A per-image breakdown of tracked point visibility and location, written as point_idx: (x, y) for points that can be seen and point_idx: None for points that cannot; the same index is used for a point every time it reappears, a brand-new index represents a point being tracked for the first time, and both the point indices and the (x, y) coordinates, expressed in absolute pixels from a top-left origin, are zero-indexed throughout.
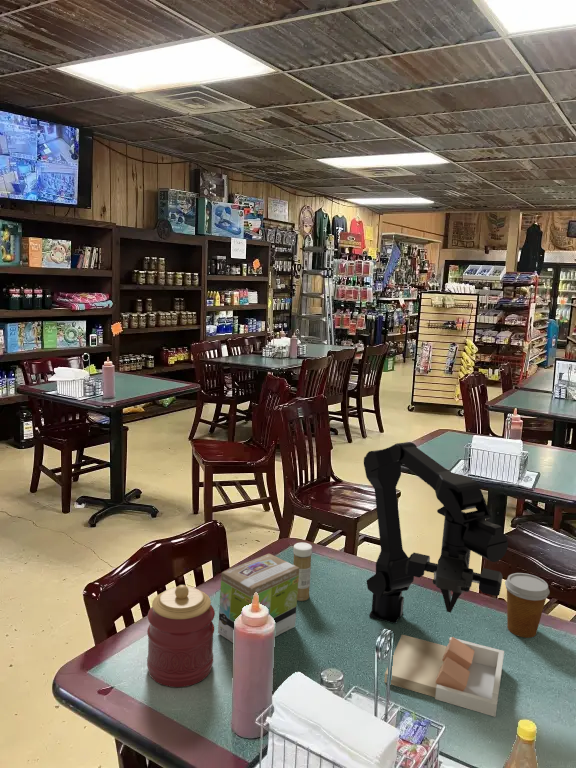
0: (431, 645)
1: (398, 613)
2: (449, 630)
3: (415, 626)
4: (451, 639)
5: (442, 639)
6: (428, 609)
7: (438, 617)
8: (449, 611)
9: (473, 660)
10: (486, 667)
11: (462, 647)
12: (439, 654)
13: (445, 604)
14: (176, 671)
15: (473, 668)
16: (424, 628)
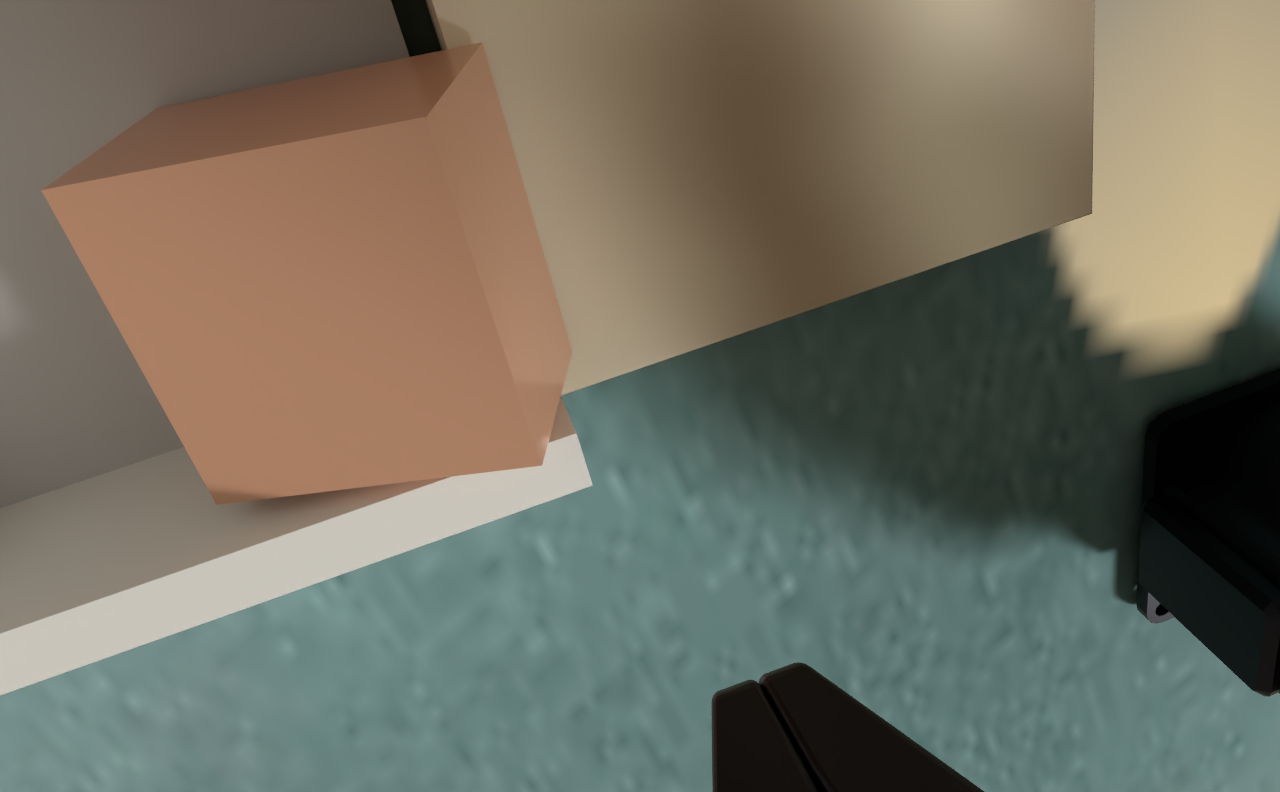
0: (736, 271)
1: (1190, 519)
2: (698, 687)
3: (977, 519)
4: (526, 407)
5: (696, 535)
6: None
7: None
8: (751, 692)
9: None
10: (56, 445)
11: (332, 397)
12: (576, 165)
13: (941, 772)
14: None
15: None
16: (898, 552)
